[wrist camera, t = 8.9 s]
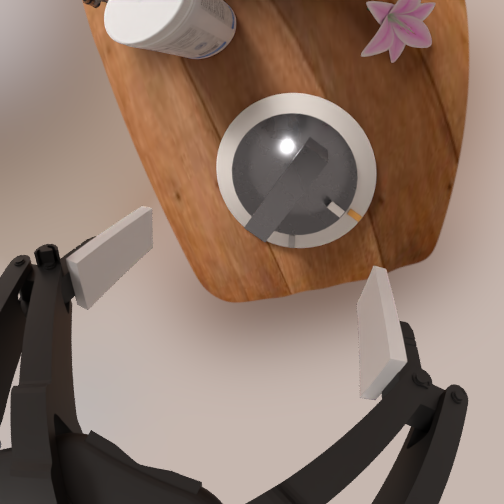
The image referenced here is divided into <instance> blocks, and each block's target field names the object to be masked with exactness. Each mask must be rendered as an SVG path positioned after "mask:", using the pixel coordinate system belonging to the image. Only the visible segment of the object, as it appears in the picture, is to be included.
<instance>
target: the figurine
mask: <svg viewBox="0 0 504 504" xmlns="http://www.w3.org/2000/svg"><path fill="white" fill-rule="evenodd" d="M101 1H103V2H106V3H108V1H109V0H83V3H85V4H89V5H91V6H93V7H95V8H97V7H99V6H100V2H101Z"/></svg>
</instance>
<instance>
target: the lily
mask: <svg viewBox="0 0 504 504" xmlns="http://www.w3.org/2000/svg"><path fill="white" fill-rule="evenodd" d="M420 3H421V0H398V1H397V3H396V4H395V5H394V4H391V3H386V2H378V1H368V2H366V5H367V7H368V8H367V10H370V12H371V13H372V15H373V16H374V18H375V19H376V20H377V22H378V23H379V24H380V25H381V27H380V28H379V30H378V32H377V33H376V35H375V36H374V37H373V39H372V40H371V41H370V42H369V44H368V45H367V46H366V47H365V49H364V50H363V51H362V53H361V56H362V57H366V56H372V55H376V54H379V53H382V52H385V51H387V50H388V49H389V54H390V59H391V63H393V62H395V61H396V60H397V59H398V57H399V56H400V55H401V53H402V51H403V50H404V47H405V45H408V46H411V47H416V48H427V47H430V46H431V45H432V39H431V35H430V32H429V30H428V28H427V26H426V25H425V24H424V22H422V21H423V20H424V19H426V18H427V16H428V15H429V14H430V13H431V11H432V10H433V9H434V7H435V3H422V4H420Z"/></svg>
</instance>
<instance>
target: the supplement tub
mask: <svg viewBox="0 0 504 504" xmlns="http://www.w3.org/2000/svg"><path fill="white" fill-rule="evenodd" d="M104 23H105V28H106V31H107V33H108V35H109V36H110V37H111V38H112V39H113V40H114V41H116V42H118V43H121V44H125V45H127V46H130V47H135V48H141V49H147V50H152V51H158V52H163V53H167V54H173V55H177V56H181V57H186V58H190V59H203V58H208V57H211V56H213V55H215V54H217V53H219V52H220V51H222V50H223V49H224V48H225V47H226V46H227V45H228V44H229V43H230V41H231V40H232V38H233V36H234V34H235V30H236V17H235V14H234V12H233V10H232V8H231V7H230V6H229V5H228V4H227V3H226V2H224V1H223V0H109V1H108V3H107V6H106V9H105V15H104Z"/></svg>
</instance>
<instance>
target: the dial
mask: <svg viewBox="0 0 504 504" xmlns="http://www.w3.org/2000/svg"><path fill="white" fill-rule="evenodd" d="M357 179H358V176H357V166H356V161H355V158H354V155H353V153H352V151H351V149H350V147H349V145H348V144H347V142H346V141H345V139H344V138H343V137H342V136H341V134H340V133H339V132H338V131H337V130H336V129H334V128H333V127H332V126H331V125H329V124H328V123H326V122H324V121H322V120H320V119H318V118H316V117H313V116H310V115H305V114H298V113H288V114H280V115H276V116H272V117H270V118H267V119H265V120H263V121H261V122H259V123H258V124H256V125H255V126H254V127H252V128H251V129H250V130H249V131H248V132H247V133H246V134H245V136H244V137H243V138H242V140H241V141H240V143H239V145H238V147H237V149H236V152H235V154H234V158H233V163H232V180H233V185H234V189H235V192H236V194H237V197H238V199H239V201H240V202H241V204H242V206H243V207H244V208H245V210H246V211H247V212H248V213H249V214H250V215H251V216H252V217H251V218H250V220H249V221H248V223H247V224H246V226H245V227H244V228H245V229H247V230H248V231H249V232H251V233H252V234H254V235H255V236H257V237H258V238H259V239H261V240H262V241H264V242H266V241H267V239H268V238H269V237H270V236H271V234H272V233H273V232H274V231H276V232H279V233H284V234H289V235H306V234H312V233H315V232H319V231H321V230H323V229H326V228H327V227H329V226H331V225H332V224H334V223H335V222H336V221H338V220H339V219H340V218H341V217H342V216H343V215H344V213H345V212H346V211H347V209H348V208H349V206H350V204H351V203H352V201H353V198H354V195H355V192H356V188H357Z"/></svg>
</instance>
